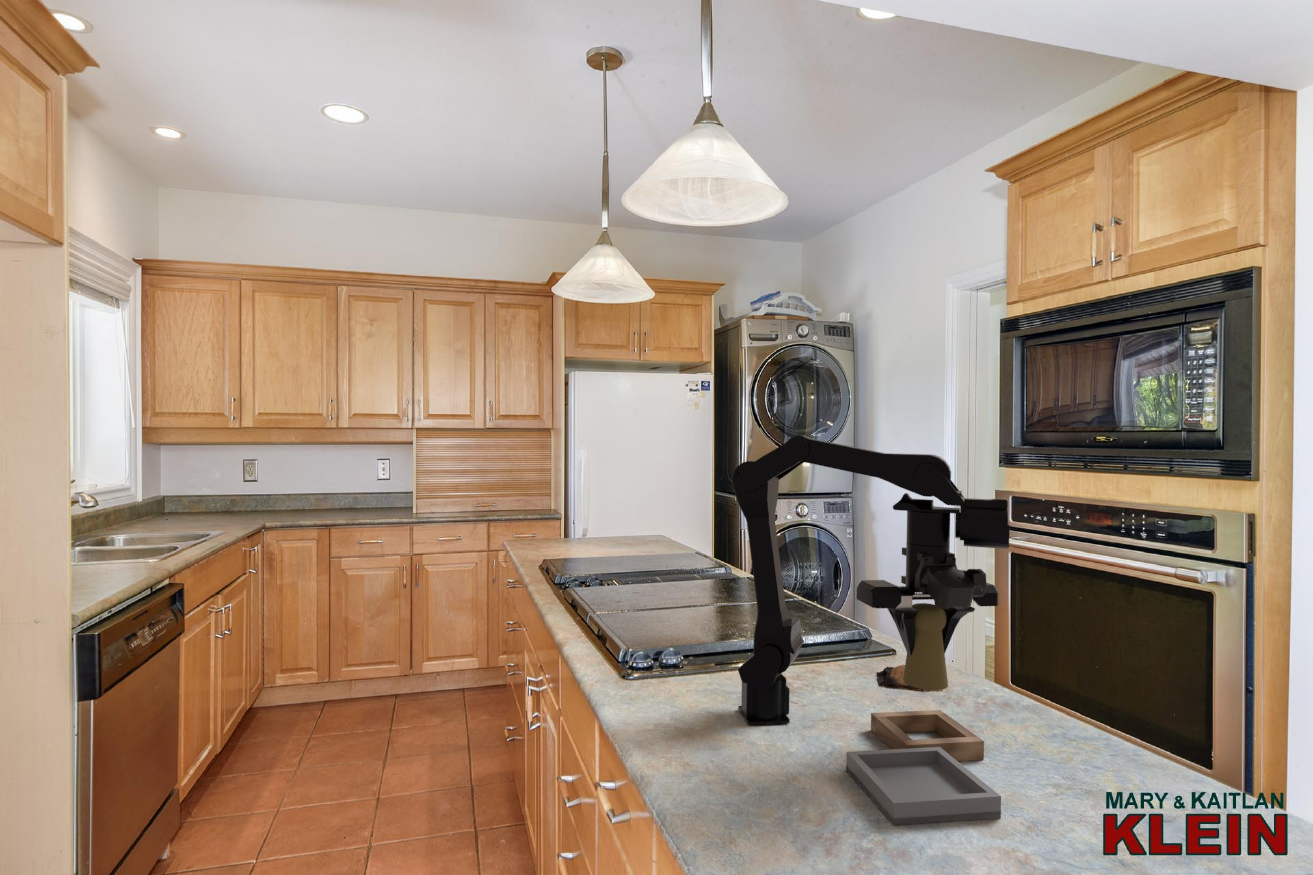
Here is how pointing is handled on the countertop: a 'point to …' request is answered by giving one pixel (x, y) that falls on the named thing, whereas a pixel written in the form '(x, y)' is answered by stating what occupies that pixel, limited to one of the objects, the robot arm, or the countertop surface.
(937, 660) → the cork
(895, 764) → the tray
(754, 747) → the countertop surface
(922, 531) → the robot arm
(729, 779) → the countertop surface
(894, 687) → the bread roll
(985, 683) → the countertop surface
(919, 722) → the pin holder
